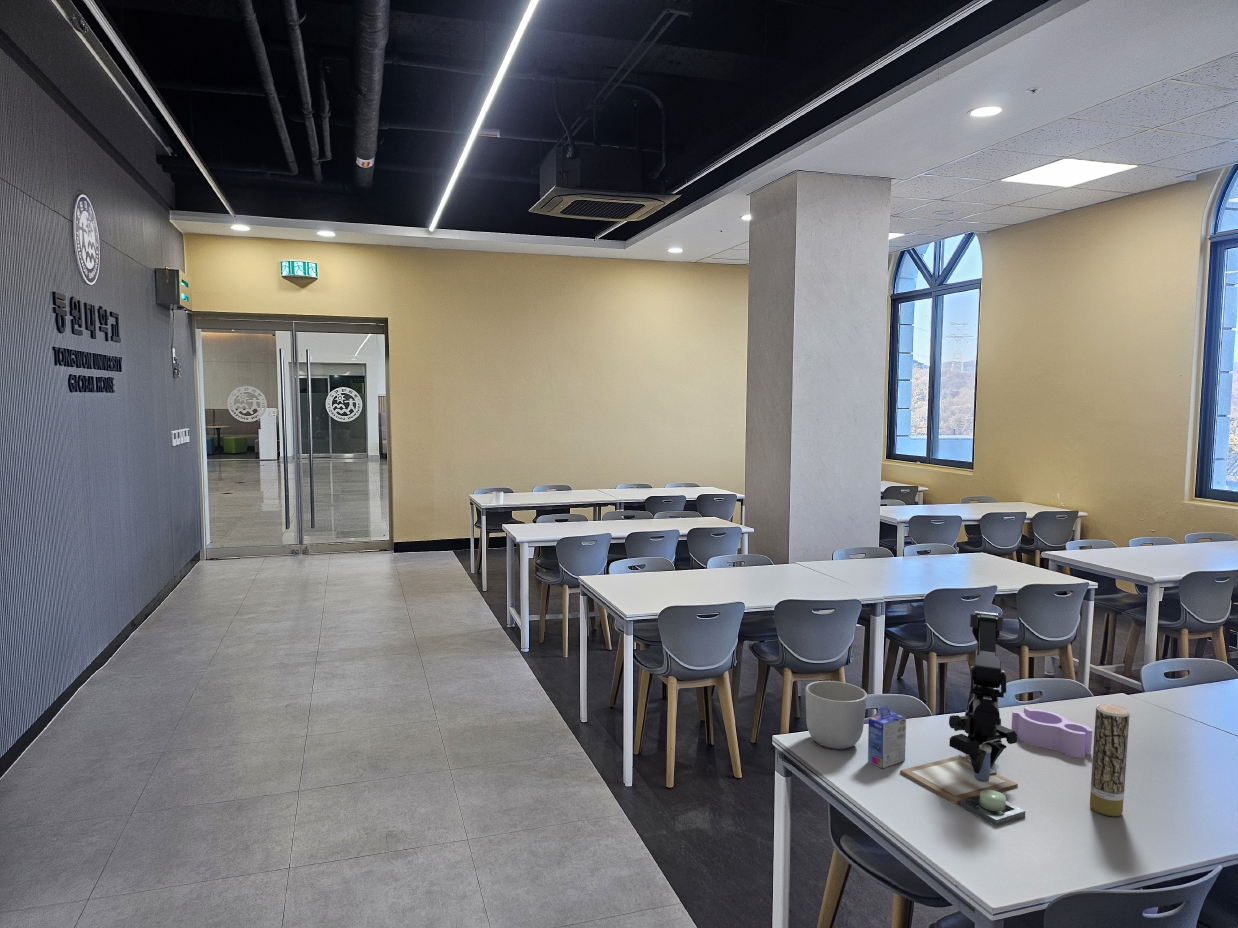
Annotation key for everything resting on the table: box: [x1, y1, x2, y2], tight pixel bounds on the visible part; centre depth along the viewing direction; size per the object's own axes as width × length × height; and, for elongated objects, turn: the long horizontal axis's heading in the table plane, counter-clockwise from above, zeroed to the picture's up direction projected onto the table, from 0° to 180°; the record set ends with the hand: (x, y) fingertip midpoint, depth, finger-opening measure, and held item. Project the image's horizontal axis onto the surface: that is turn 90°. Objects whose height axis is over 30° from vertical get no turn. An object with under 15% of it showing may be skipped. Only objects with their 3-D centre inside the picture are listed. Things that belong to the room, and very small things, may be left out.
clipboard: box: [899, 755, 1019, 805], centre depth 205 cm, size 22×18×1 cm
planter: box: [805, 680, 868, 750], centre depth 226 cm, size 17×17×15 cm
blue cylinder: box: [974, 744, 991, 782], centre depth 204 cm, size 4×4×9 cm
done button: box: [979, 790, 1007, 813], centre depth 189 cm, size 6×6×2 cm
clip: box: [1010, 706, 1093, 758], centre depth 230 cm, size 20×12×7 cm, turn 35°
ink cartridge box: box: [867, 705, 907, 769], centre depth 215 cm, size 10×6×14 cm, turn 124°
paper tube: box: [1089, 703, 1130, 817], centre depth 190 cm, size 7×7×25 cm
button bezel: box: [959, 795, 1026, 827], centre depth 189 cm, size 10×10×2 cm
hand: (981, 771), depth 204 cm, fingers closed on blue cylinder, 4 cm apart
